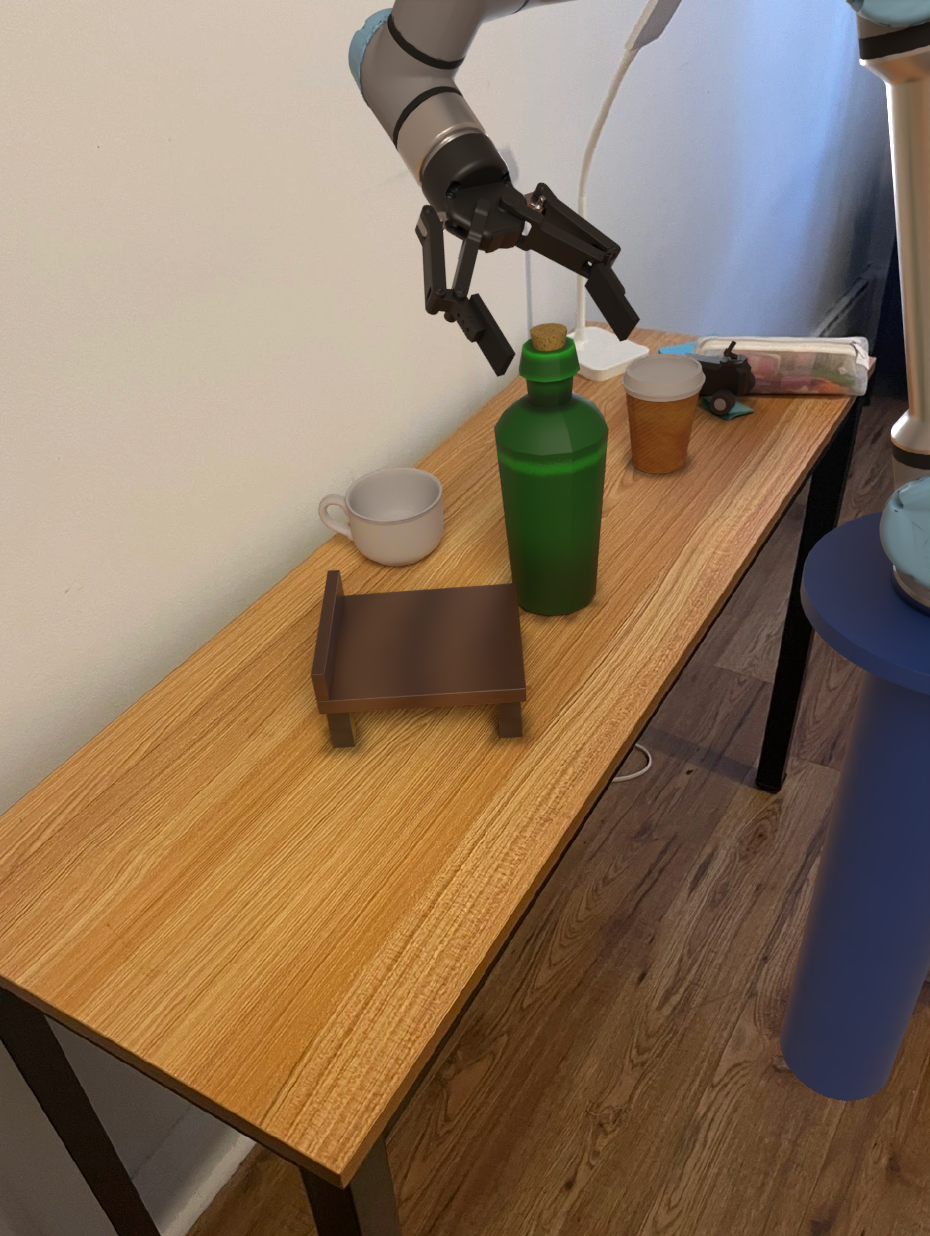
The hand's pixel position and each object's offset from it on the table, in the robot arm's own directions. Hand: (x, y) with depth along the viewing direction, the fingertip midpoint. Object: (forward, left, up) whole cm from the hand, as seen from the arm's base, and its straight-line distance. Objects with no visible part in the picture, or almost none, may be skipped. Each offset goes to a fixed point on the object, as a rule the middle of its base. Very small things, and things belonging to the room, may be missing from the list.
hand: (570, 348), depth 88 cm
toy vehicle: (-20, -45, -27) cm, 57 cm away
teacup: (+20, -12, -27) cm, 36 cm away
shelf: (+15, +13, -27) cm, 33 cm away
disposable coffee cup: (-13, -28, -27) cm, 41 cm away
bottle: (+2, -1, -27) cm, 27 cm away
